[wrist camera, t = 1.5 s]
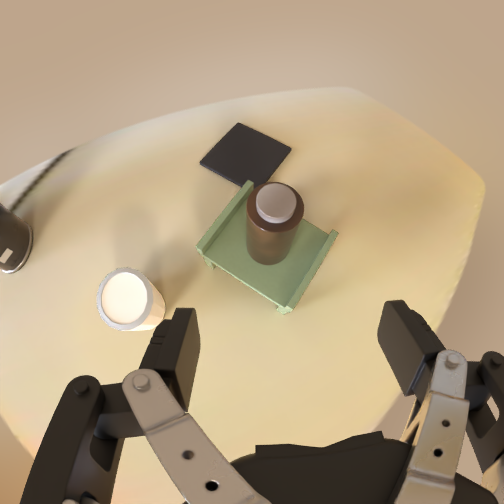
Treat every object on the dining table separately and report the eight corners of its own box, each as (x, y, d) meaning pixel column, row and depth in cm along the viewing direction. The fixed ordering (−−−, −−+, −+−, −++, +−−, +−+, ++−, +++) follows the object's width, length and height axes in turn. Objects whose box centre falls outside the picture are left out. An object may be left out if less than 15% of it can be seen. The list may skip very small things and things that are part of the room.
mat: (199, 164, 42) (199, 162, 41) (238, 124, 44) (238, 122, 44) (255, 195, 40) (256, 193, 39) (291, 150, 43) (291, 148, 42)
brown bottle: (237, 250, 32) (234, 207, 22) (261, 217, 33) (266, 166, 24) (275, 273, 31) (287, 239, 22) (297, 239, 32) (316, 193, 23)
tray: (204, 264, 36) (195, 246, 30) (247, 206, 39) (248, 179, 33) (284, 317, 34) (293, 310, 28) (324, 252, 37) (338, 232, 31)
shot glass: (149, 271, 36) (129, 254, 29) (181, 312, 34) (165, 302, 28) (111, 304, 34) (85, 293, 28) (141, 346, 33) (118, 343, 26)
